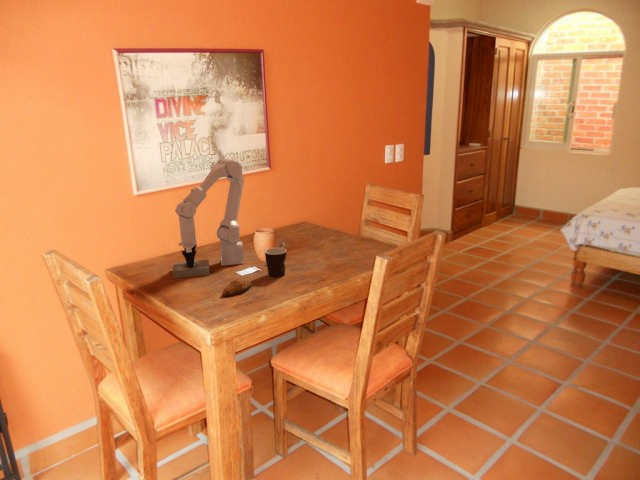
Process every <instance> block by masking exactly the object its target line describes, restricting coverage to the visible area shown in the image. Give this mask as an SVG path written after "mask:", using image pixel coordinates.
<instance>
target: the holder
mask: <svg viewBox="0 0 640 480" xmlns="http://www.w3.org/2000/svg"><path fill="white" fill-rule="evenodd" d="M195 266H196V267H192V268H188V267H187V263H186V261H180V262H179V261H177V262H173V266H172V278H173V279H179V278H180V279H181V278H191V277H200V276H203V277H204V276H209V275H210V262H209V259H203V260H202V259H201V260H195Z"/></svg>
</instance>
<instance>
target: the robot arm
mask: <svg viewBox="0 0 640 480" xmlns="http://www.w3.org/2000/svg"><path fill="white" fill-rule="evenodd" d="M221 178H227V180H228V181H229V188H228V193H227V194H228V195H227V199H226V206H225V210H224V217H223V219H222V220H221V221H220V223H219V226H218V228H217V230H216V237H217V238H218V239H219V242H220V254H221V256H220V257H221V259H220V263H221V264H220V265H221V266H232V265H241V264H242V265H243V264H245V262H244V260H245V254H244V247H243V246H244V245H243V241H239V240H240V239H241V233H240V224H239V223H238V216H239V211H240V206H241V200H242V195H243V189H244V182H245V179H244V173H243V165H242V164H241V163H240V162H239V161H238V159H230V158H225V157H221V158H219V159H218V161H216V163H215V164H214V165H213V167H212V169H211V171H209V173H208V174H207V175H206V177H205V178H204V180H202V183H200V185H199V186H195V187H193V188H191V189H190V192H189V194H187V196H186V197H185V198H183V199H182V201H181V202H178V203H177V205H176V208H175V213H176V214H177V215H178V224H179V230H180V241H181V242H178V246H182V248H183V249H184V250H181V255H182V256H183V257H184V259H185V262H186V263H187V266H188V268H192V267H194V258H195V257H196V255H197V249H196V248H197V245H198V243H197V235H196V227H195V217H194V216H196V213H197V208H199V206H200V205H201V204H202V202H203V201H204V200H205V199H206V198H207V192H208V191H209V190H210V189H211V188H212V187H213V185H215V183H217V181H218V180H219V179H221Z"/></svg>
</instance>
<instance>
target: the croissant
mask: <svg viewBox="0 0 640 480" xmlns="http://www.w3.org/2000/svg"><path fill="white" fill-rule="evenodd" d="M252 286H253V282H252V281H250V280H246V279H244V280H243V279H234V280H232V281H230V282H229V284H227V285H226V286H225V288H224V289H223V291H222V293H221V294H222V297H230V296H235V295H237V294H241V293H244V292H246V290H249V289H251V287H252Z"/></svg>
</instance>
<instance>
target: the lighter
mask: <svg viewBox="0 0 640 480" xmlns="http://www.w3.org/2000/svg"><path fill="white" fill-rule="evenodd" d="M285 246H286V243H284V242H280V243H279V247H278V248H284V249H285Z"/></svg>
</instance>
